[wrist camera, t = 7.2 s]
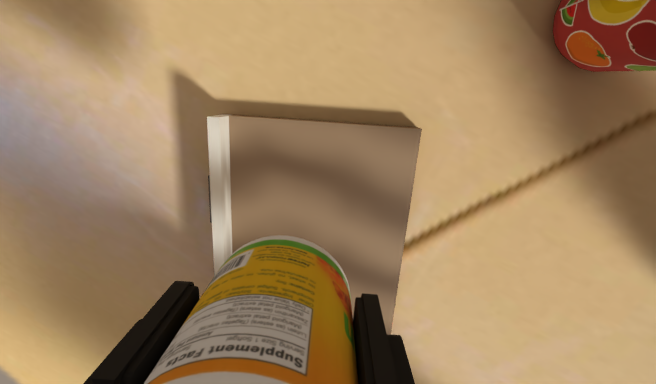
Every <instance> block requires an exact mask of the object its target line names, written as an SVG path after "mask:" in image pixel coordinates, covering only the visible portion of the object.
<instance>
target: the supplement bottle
mask: <svg viewBox="0 0 656 384" xmlns="http://www.w3.org/2000/svg"><path fill="white" fill-rule="evenodd" d="M144 384H358V374H357V361H356V351H355V339H354V328H353V316H352V306H351V296H350V289H349V285H348V281H347V278H346V276H345V274H344V272H343V270H342V268H341V267H340V265H339V264H338V262H337V261H336V260H335V259H334V258H333V257H332V256H331V255H330V254H329V253H328V252H327V251H325V250H324V249H323V248H321V247H320V246H318V245H316V244H314V243H312V242H310V241H307V240H305V239H301V238H297V237H292V236H283V235H277V236H267V237H263V238H259V239H256V240H254V241H251V242H249V243H247V244H245V245H243V246H242V247H240V248H239V249H237V250H236V251H235V252H234V253H233V254H231V255H230V257H229V258H228V259H227V260H226V261H225V263H224V264H223V265H222V266H221V268H220V269H219V271H218V272H217V274H216V275H215V276H214V278H213V280H212V281H211V282H210V284H209V285H208V287H207V288H206V290H205V292H204V293H203V295H202V296H201V298H200V299H199V301H198V302H197V304H196V305H195V307H194V308H193V310H192V311H191V313H190V314H189V316H188V317H187V319H186V320H185V322H184V323H183V325H182V327H181V328H180V330H179V331H178V333H177V334H176V336H175V337H174V339H173V341H172V342H171V343H170V345H169V346H168V348H167V349H166V351H165V352H164V354H163V355H162V357H161V358H160V360H159V361H158V363H157V365H156V366H155V368H154V369H153V371H152V372H151V374H150V375H149V376H148V378H147V379H146V381H145V382H144Z"/></svg>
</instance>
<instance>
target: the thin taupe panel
mask: <svg viewBox="0 0 656 384" xmlns="http://www.w3.org/2000/svg"><path fill="white" fill-rule="evenodd" d="M207 128H208V150H209V172H210V175H209V176H208V181H209V202H210V222H211V223H212V237H213V259H214V276H215V275H216V274H217V272H218V271H219V269H220V268H221V266H222V265H223V264H224V263H225V261H226V260H227V259H228V258H229V257H230V255H231V254H233V253H234V252H235V251H236V250H237V249H239V248H240V247H242V246H243V245H245V244H247V243H249V242H251V241H254V240H256V239H259V238H263V237H267V236H277V235H283V236H292V237H297V238H301V239H305V240H307V241H310V242H312V243H314V244H316V245H318V246H320V247H321V248H323V249H324V250H325V251H327V252H328V253H329V254H330V255H331V256H332V257H333V258H334V259H335V260H336V261H337V262H338V264H339V265H340V267H341V268H342V270H343V272H344V274H345V276H346V278H347V281H348V285H349V289H350V296H351V306H352V316H354V307H355V299H356V297H361V294H362V293H365V294H377V295H378V298H379V303H380V307H381V311H382V316H383V320H384V325H385V329H386V334H387V335H390V334H391V327H392V321H393V314H394V308H395V301H396V294H397V288H398V281H399V275H400V268H401V262H402V255H403V249H404V242H405V235H406V229H407V222H408V216H409V209H410V203H411V196H412V189H413V183H414V176H415V170H416V163H417V157H418V150H419V143H420V137H421V130H422V129H420V128H417V127H403V126H388V125H374V124H360V123H345V122H331V121H316V120H302V119H287V118H273V117H258V116H244V115H230V114H220V115H214V116H207Z"/></svg>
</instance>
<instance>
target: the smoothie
mask: <svg viewBox="0 0 656 384" xmlns="http://www.w3.org/2000/svg"><path fill="white" fill-rule="evenodd" d="M553 35H554V40H555V44H556V46H557V48H558V50H559V51H560V53H561V55H563V56H564V57H565V58H567V59H568V60H569V61H571V62H572V63H574V64H575V65H576V66H577V67H579V68H582V69H585V70H589V71H593V72H601V71H650V70H656V0H562V1H561V2H560V4H559V7H558V9H557V12H556V14H555V17H554V25H553Z"/></svg>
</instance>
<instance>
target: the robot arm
mask: <svg viewBox="0 0 656 384" xmlns="http://www.w3.org/2000/svg"><path fill="white" fill-rule="evenodd" d="M198 301H199V289H198V287H196V286H194V284H193V282H184V281H175V282H174V283H173V284H172V285H171V286H170V287H169V289H168V290H167V291H166V292H165V293H164V294H163V296H162V297H161V298H160V299H159V300H158V301H157V302H156V304H155V305H154V306H153V307H152V308H151V309H150V311H149V312H148V313H147V314H146V315H145V316H144V318H143V319H141V320H139V321H138V322H137V323H136V324H135V325H134V326H133V327H132V328H131V330H130V331H129V332H128V333H127V334H126V335H125V337H124V338H123V339H122V340H121V341H120V342H119V343H118V345H117V346H116V347H115V348H114V349H113V350H112V351H111V353H110V354H109V355H108V356H107V357H106V358H105V359H104V361H103V362H102V363H101V364H100V365H99V366H98V368H97V369H96V370H95V371H94V372H93V373H92V374H91V376H90V377H89V378H88V379H87V380H86V381H85V382H84V384H144V382H145V381H146V379H147V378H148V376H149V375H150V374H151V372H152V371H153V369H154V368H155V366H156V365H157V363H158V361H159V360H160V358H161V357H162V355H163V354H164V352H165V351H166V349H167V348H168V346H169V345H170V343H171V342H172V341H173V339H174V337H175V336H176V334H177V333H178V331H179V330H180V328H181V327H182V325H183V323H184V322H185V320H186V319H187V317H188V316H189V314H190V313H191V311H192V310H193V308H194V307H195V305H196V304H197V302H198ZM353 328H354V339H355V351H356V361H357V374H358V384H415V383H414V379H413V375H412V372H411V368H410V365H409V361H408V358H407V354H406V351H405V347H404V344H403V340H402V338H401V336H400V335H387V334H386V329H385V325H384V320H383V316H382V311H381V307H380V303H379V298H378V295H377V294H365V293H362V294H361V297H356V299H355V307H354V316H353Z"/></svg>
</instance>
